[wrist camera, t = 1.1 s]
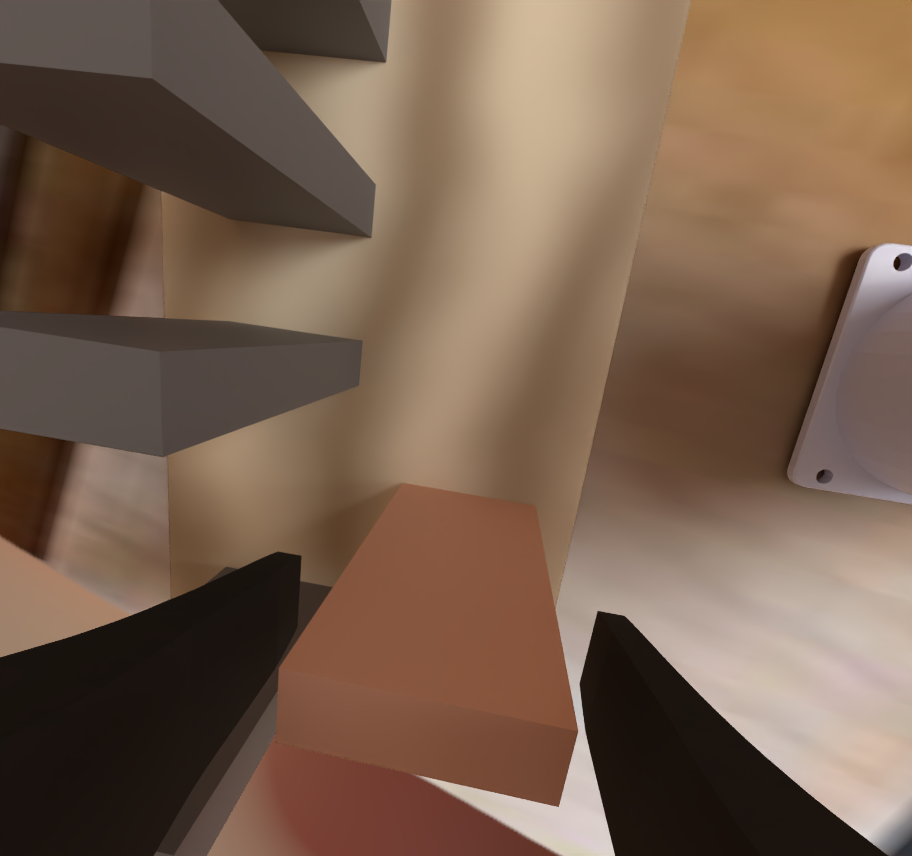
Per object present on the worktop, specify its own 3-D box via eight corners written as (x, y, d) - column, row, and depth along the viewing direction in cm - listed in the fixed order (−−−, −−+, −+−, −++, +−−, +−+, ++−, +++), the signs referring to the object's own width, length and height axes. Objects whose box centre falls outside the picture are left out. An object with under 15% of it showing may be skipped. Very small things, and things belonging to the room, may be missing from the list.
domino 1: (230, 167, 14) (-224, -108, 5) (376, 184, 14) (148, -82, 5) (229, 219, 14) (-195, 42, 6) (371, 237, 14) (152, 78, 5)
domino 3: (403, 483, 16) (278, 667, 7) (535, 505, 15) (578, 731, 7) (398, 521, 16) (275, 742, 7) (527, 544, 16) (558, 807, 7)
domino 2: (228, 321, 15) (-144, 304, 6) (362, 341, 15) (160, 351, 6) (228, 365, 16) (-125, 406, 7) (359, 385, 15) (162, 457, 6)
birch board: (700, -84, 12) (718, -121, 11) (519, 742, 19) (520, 764, 18) (178, -118, 13) (152, -154, 12) (189, 670, 20) (173, 687, 19)
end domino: (226, 566, 17) (-51, 799, 9) (341, 589, 17) (173, 856, 8) (225, 599, 18) (-40, 854, 9) (339, 622, 17) (175, 911, 9)
